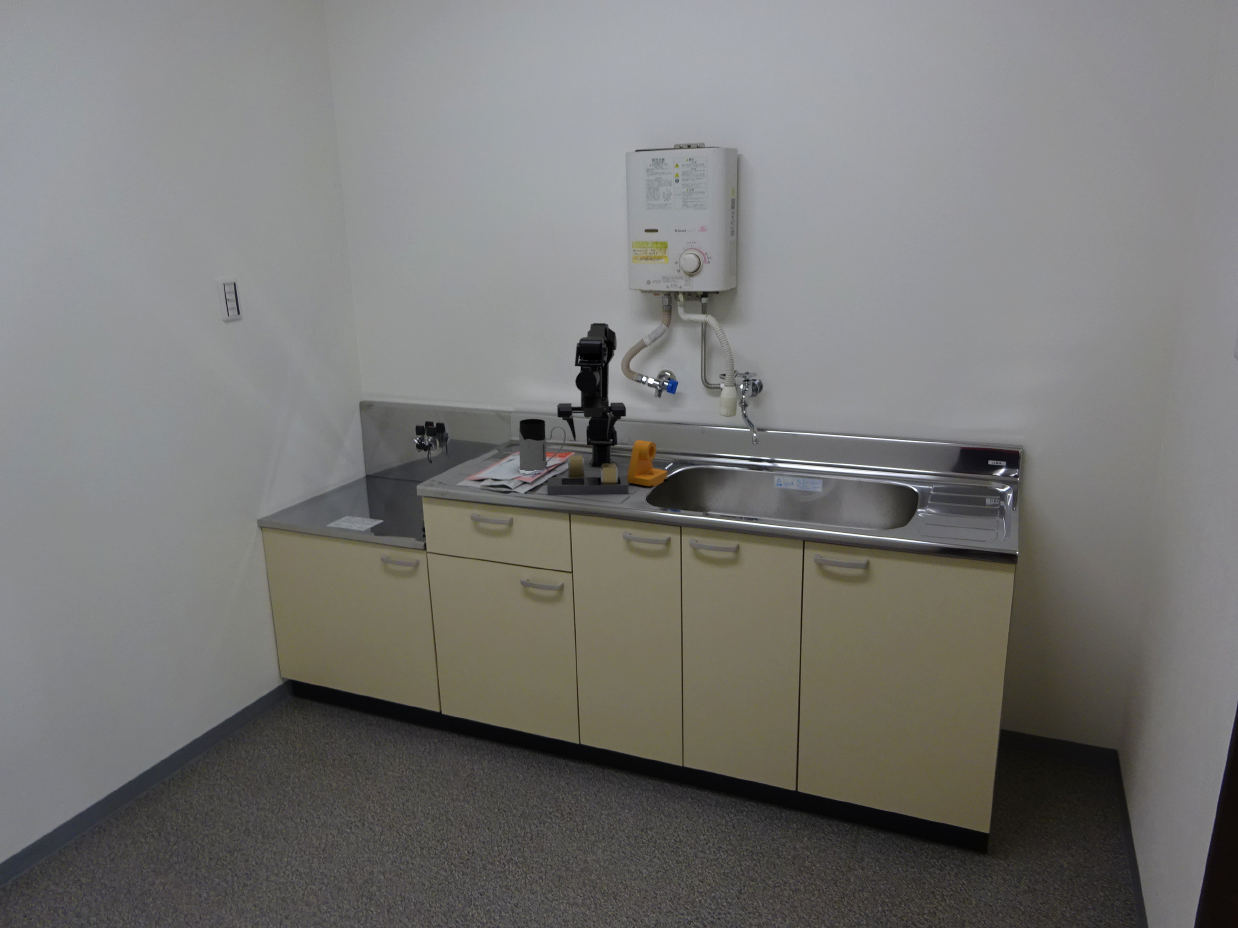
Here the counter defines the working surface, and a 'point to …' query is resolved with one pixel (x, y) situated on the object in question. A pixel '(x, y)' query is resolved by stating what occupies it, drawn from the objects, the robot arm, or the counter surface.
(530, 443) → the glass holder
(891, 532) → the counter surface
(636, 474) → the bracket
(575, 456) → the gold metal block
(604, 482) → the tan-capped ribbed block
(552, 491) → the tray
